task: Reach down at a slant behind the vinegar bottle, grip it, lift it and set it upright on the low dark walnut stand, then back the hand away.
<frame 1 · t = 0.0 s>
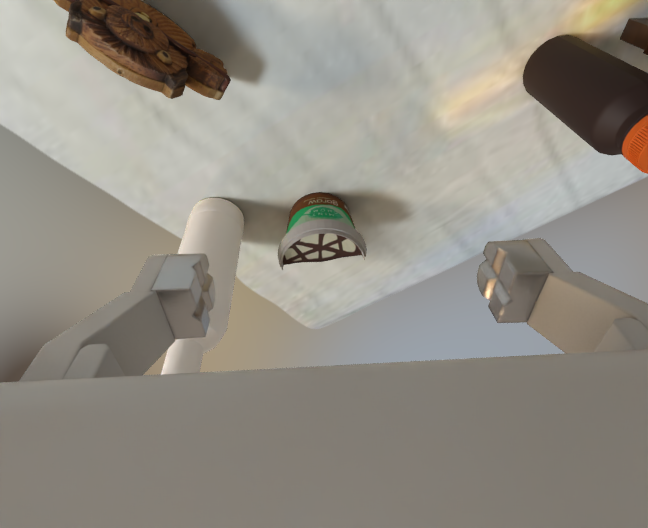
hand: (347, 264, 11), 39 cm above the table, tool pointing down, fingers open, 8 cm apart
vinegar: (550, 66, 45), on the table
bottle: (218, 217, 58), on the table
wooden carving: (160, 27, 40), on the table
food container: (317, 202, 57), on the table
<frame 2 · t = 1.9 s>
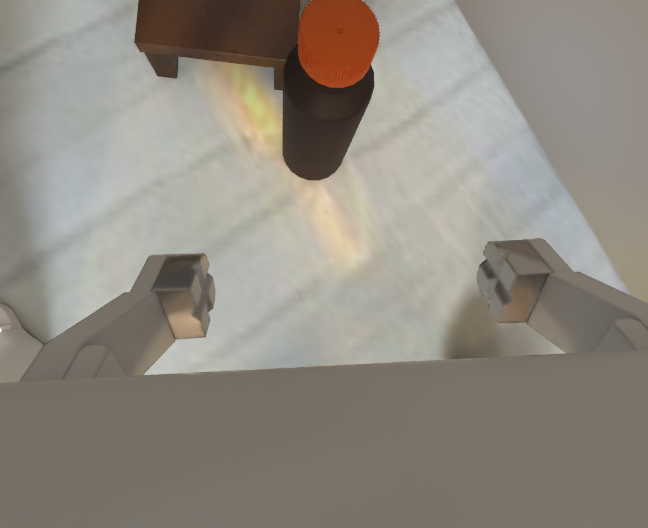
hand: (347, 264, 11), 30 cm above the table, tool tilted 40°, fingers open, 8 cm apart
stand: (231, 21, 43), on the table
vinegar: (312, 152, 43), on the table
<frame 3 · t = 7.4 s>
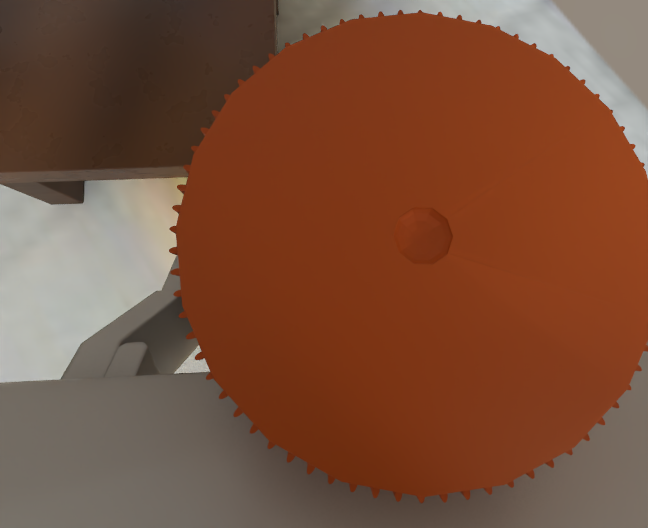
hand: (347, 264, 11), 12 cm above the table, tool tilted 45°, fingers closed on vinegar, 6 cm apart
stand: (169, 92, 25), on the table
vinegar: (331, 298, 24), on the table, touching gripper
when the fingers open (18 cm above the table, at t = 14.3 s): vinegar stays where it is, resting on stand.
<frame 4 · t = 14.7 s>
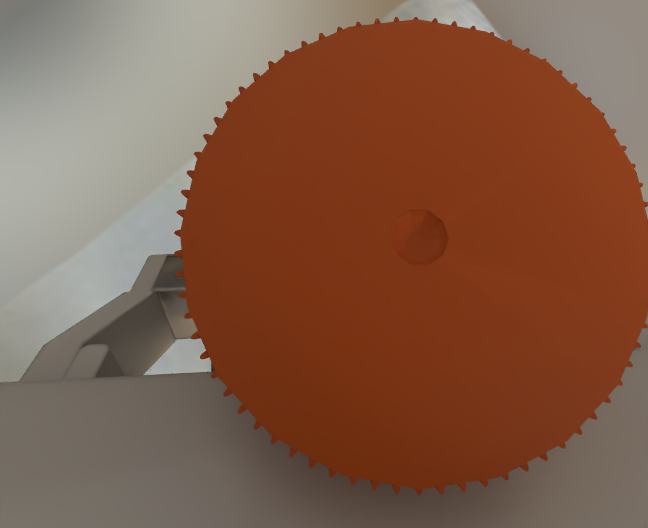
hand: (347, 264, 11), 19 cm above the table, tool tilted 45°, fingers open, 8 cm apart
vinegar: (333, 296, 24), point 6 cm above the table, touching stand
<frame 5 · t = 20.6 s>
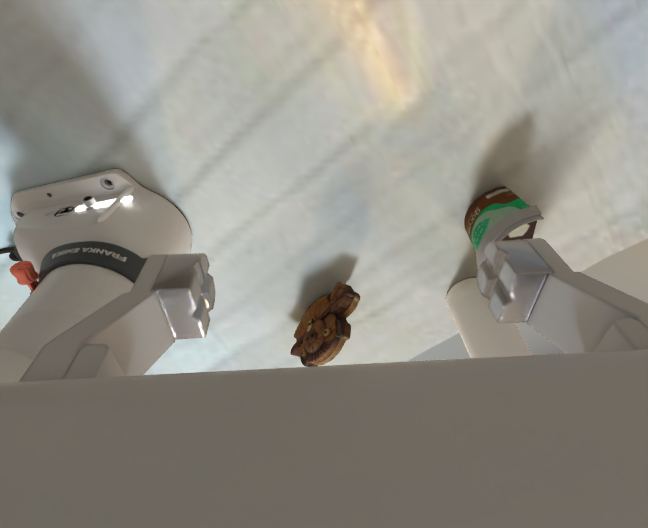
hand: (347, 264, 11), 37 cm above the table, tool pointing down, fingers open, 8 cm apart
bottle: (468, 293, 64), on the table
wooden carving: (320, 304, 64), on the table
food container: (477, 217, 55), on the table
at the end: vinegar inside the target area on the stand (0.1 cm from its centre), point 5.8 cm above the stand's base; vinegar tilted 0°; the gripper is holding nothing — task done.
